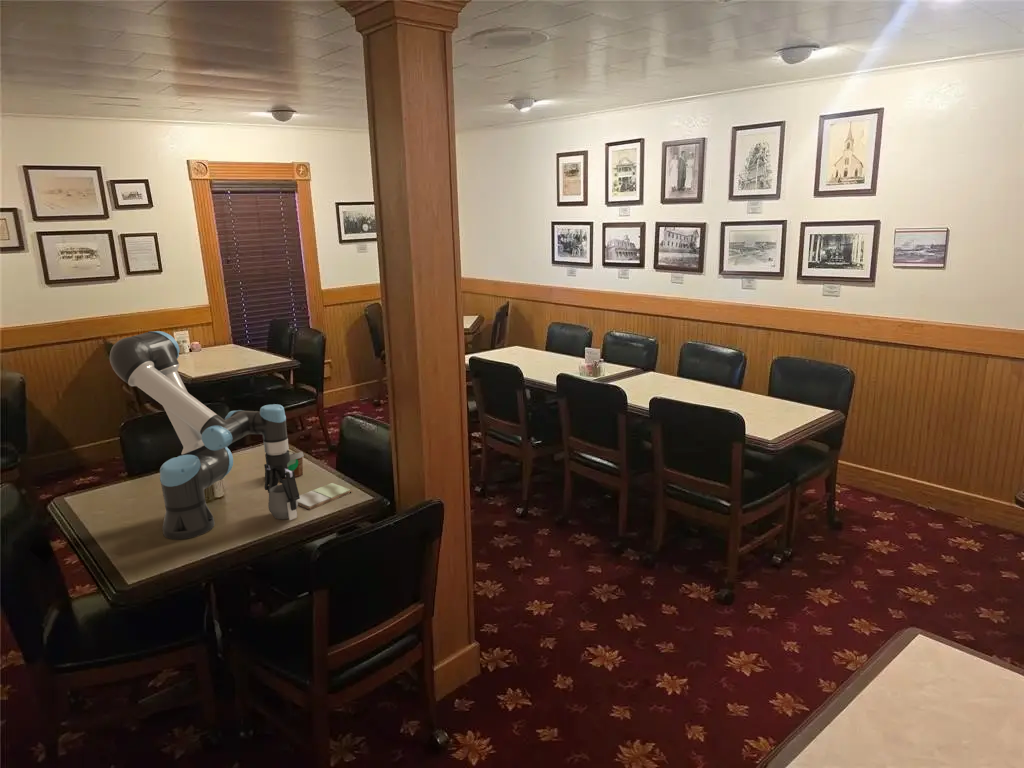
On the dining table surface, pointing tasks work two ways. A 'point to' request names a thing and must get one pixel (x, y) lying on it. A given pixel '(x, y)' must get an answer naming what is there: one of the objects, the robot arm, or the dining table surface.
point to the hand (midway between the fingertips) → (284, 514)
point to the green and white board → (322, 495)
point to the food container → (296, 463)
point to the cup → (278, 502)
